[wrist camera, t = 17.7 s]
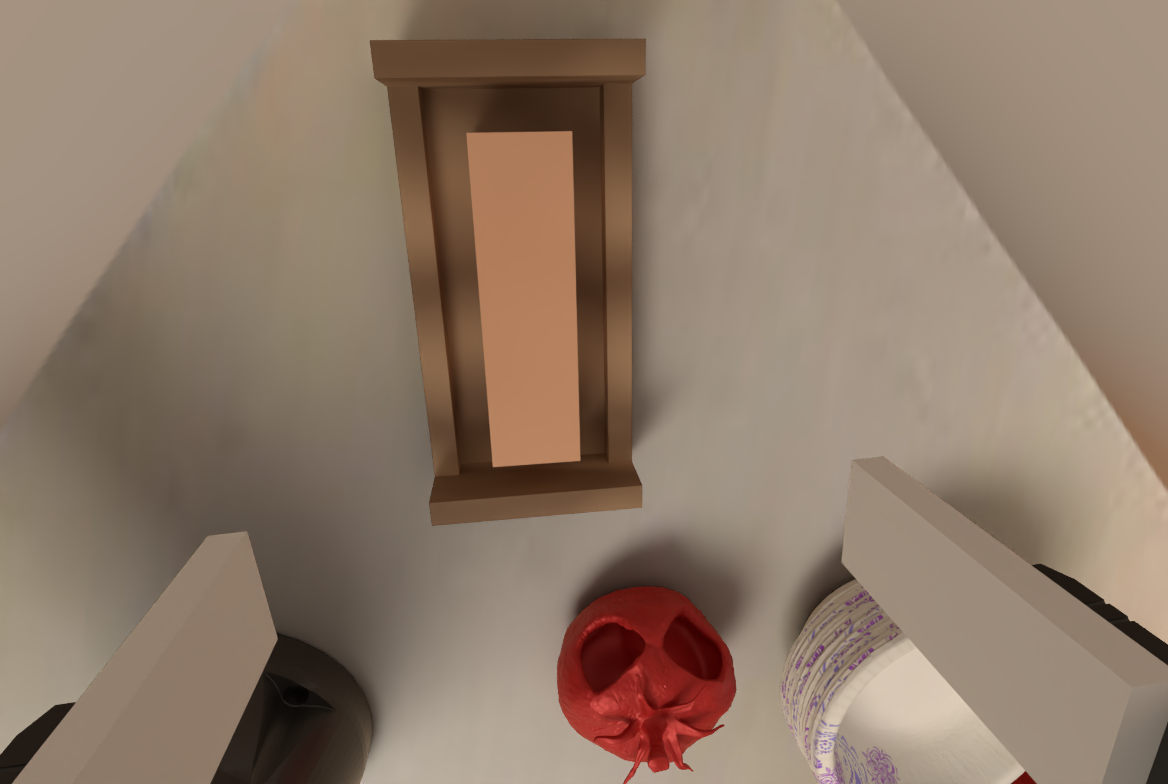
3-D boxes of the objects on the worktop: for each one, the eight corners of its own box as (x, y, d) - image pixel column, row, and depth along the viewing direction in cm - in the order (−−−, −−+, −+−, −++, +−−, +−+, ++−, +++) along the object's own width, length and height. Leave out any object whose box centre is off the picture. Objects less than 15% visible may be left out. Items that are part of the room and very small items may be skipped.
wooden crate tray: (623, 461, 35) (642, 507, 30) (442, 475, 34) (431, 525, 29) (621, 60, 28) (645, 38, 23) (393, 62, 27) (369, 40, 22)
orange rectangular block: (571, 426, 32) (580, 460, 28) (494, 431, 32) (492, 467, 28) (563, 135, 27) (572, 131, 24) (471, 137, 27) (466, 132, 23)
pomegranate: (696, 687, 41) (748, 827, 33) (547, 694, 40) (561, 844, 31) (719, 563, 38) (785, 685, 29) (557, 566, 36) (576, 695, 28)
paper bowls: (1020, 583, 41) (1132, 674, 34) (882, 742, 45) (956, 855, 38) (850, 495, 37) (936, 577, 30) (714, 678, 41) (760, 791, 34)
